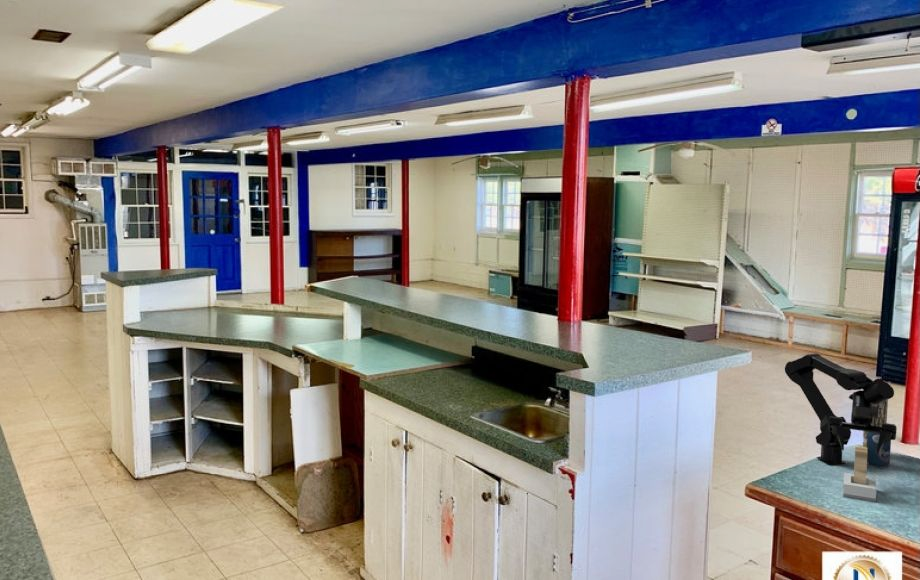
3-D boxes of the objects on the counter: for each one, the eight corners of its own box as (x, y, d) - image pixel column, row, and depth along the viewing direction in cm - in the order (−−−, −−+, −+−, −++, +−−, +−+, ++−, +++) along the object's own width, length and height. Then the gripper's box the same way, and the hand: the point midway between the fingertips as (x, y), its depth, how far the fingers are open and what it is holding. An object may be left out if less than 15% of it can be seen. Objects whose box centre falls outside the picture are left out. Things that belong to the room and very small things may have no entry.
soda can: (883, 470, 231) (885, 435, 230) (861, 464, 237) (863, 430, 235) (893, 465, 235) (895, 430, 234) (871, 459, 241) (873, 425, 239)
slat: (853, 486, 216) (855, 446, 215) (865, 488, 215) (867, 447, 213) (853, 491, 212) (855, 450, 211) (865, 493, 211) (867, 452, 209)
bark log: (862, 449, 250) (866, 381, 247) (884, 452, 247) (888, 383, 244) (862, 455, 245) (865, 386, 242) (884, 458, 241) (888, 388, 238)
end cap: (843, 484, 220) (844, 472, 220) (874, 489, 216) (875, 477, 215) (843, 496, 211) (843, 483, 211) (875, 501, 207) (876, 489, 207)
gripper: (829, 391, 223) (825, 435, 215) (898, 399, 214) (897, 445, 206) (829, 409, 231) (826, 451, 223) (895, 417, 221) (894, 461, 213)
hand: (859, 452), depth 216 cm, fingers open, 9 cm apart
